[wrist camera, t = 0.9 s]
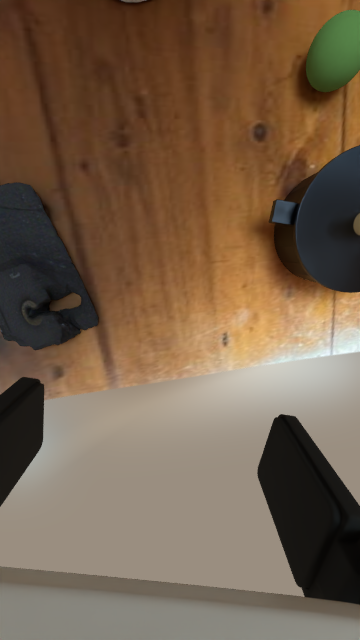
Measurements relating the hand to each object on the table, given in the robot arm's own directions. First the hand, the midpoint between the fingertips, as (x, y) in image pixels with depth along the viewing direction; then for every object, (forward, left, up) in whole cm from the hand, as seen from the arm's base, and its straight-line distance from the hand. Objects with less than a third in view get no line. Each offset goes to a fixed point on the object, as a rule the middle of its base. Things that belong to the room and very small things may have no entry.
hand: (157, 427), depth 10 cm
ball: (-30, +14, -25) cm, 41 cm away
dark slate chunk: (-1, -21, -28) cm, 35 cm away
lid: (-13, +20, -21) cm, 32 cm away
